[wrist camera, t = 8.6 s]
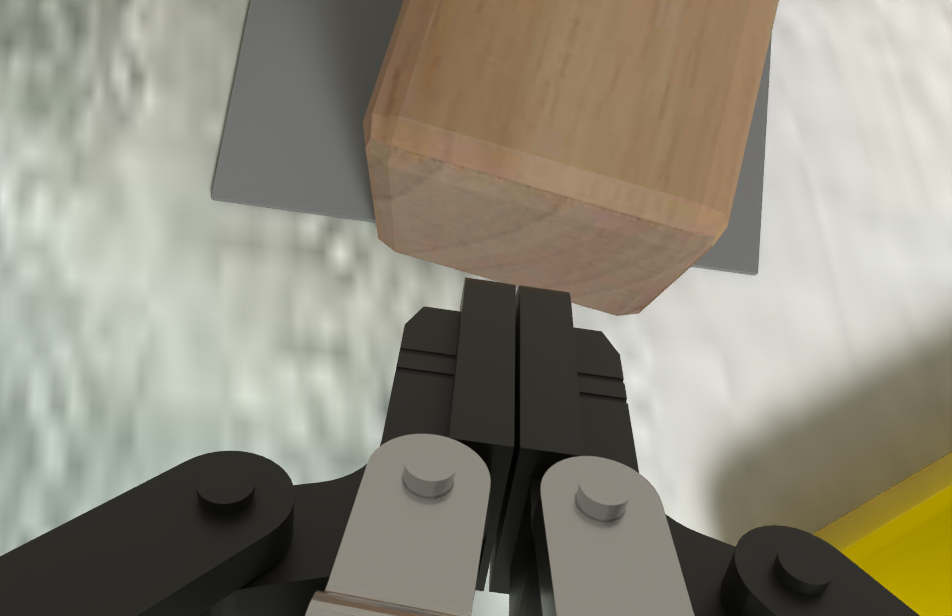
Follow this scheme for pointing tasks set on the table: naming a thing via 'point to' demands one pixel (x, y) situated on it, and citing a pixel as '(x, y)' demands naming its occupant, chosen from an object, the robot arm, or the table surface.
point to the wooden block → (565, 138)
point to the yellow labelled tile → (905, 539)
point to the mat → (342, 113)
